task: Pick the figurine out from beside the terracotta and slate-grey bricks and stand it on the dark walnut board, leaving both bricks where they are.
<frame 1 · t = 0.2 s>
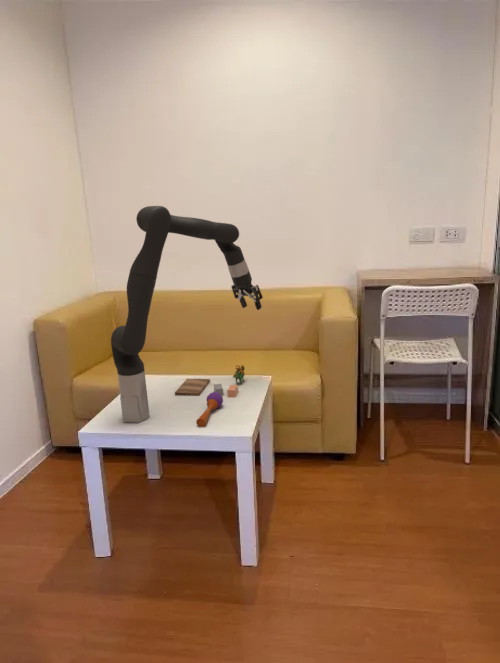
hand: (252, 307, 212), 30 cm above the table, tool tilted 20°, fingers open, 8 cm apart
walnut board: (193, 388, 211), on the table
terracotta brick: (233, 394, 202), on the table
slate-grey brick: (218, 393, 204), on the table
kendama: (209, 416, 184), on the table
figurine: (239, 384, 214), on the table
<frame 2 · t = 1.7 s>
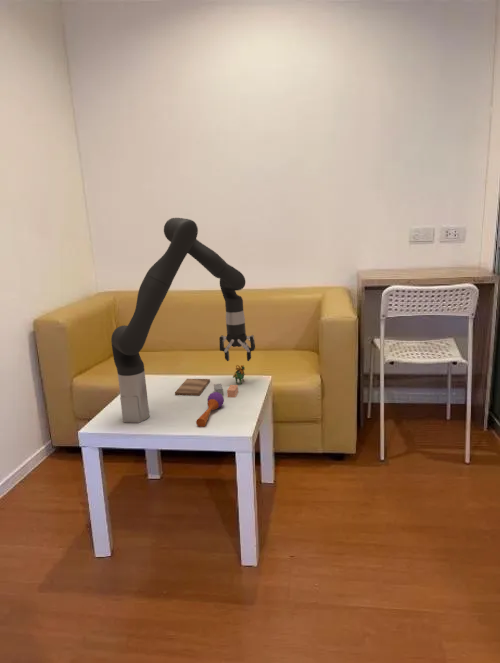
hand: (238, 360, 211), 10 cm above the table, tool pointing down, fingers open, 8 cm apart
nothing on the table moved.
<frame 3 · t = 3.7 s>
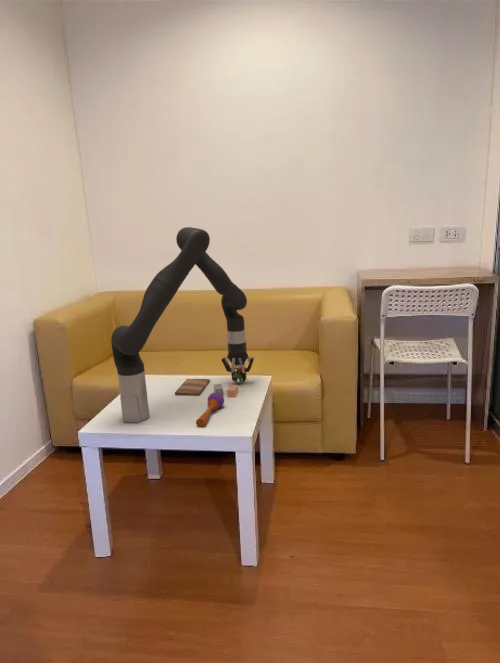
hand: (239, 380, 213), 1 cm above the table, tool pointing down, fingers closed on figurine, 3 cm apart
figurine: (239, 384, 214), on the table, touching gripper
everything else where it was.
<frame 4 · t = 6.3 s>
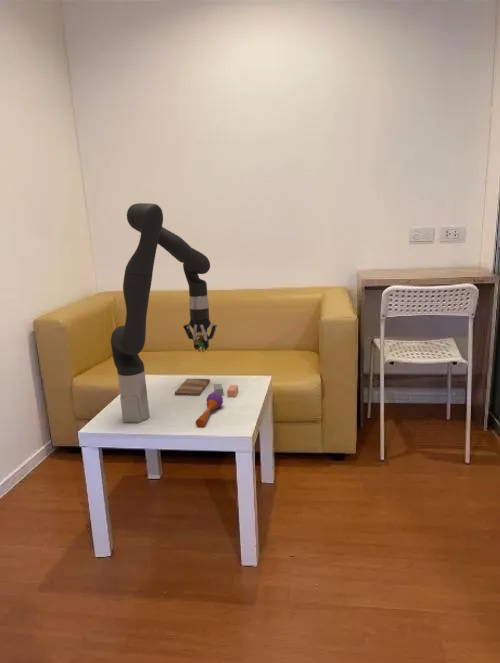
hand: (201, 349, 207), 16 cm above the table, tool pointing down, fingers closed on figurine, 3 cm apart
figurine: (201, 352, 208), point 15 cm above the table, touching gripper
everything else where it was.
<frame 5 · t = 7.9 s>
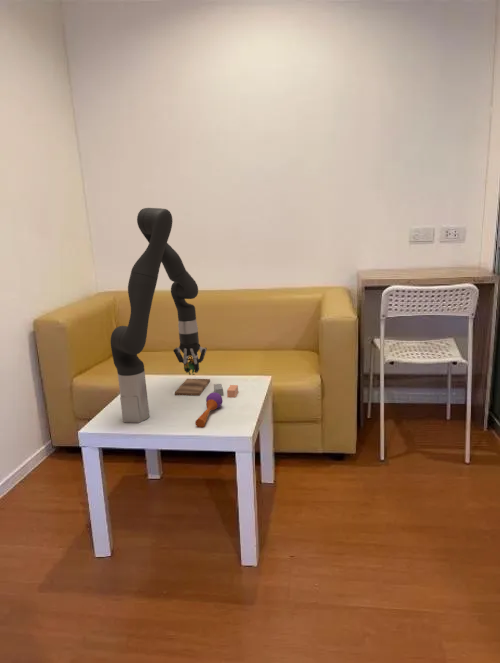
hand: (192, 371, 210), 7 cm above the table, tool pointing down, fingers closed on figurine, 3 cm apart
figurine: (192, 375, 210), point 6 cm above the table, touching gripper
everything else where it was.
when the fingers open (4 cm above the table, at t = 9.2 s): figurine drops 1 cm, resting on walnut board.
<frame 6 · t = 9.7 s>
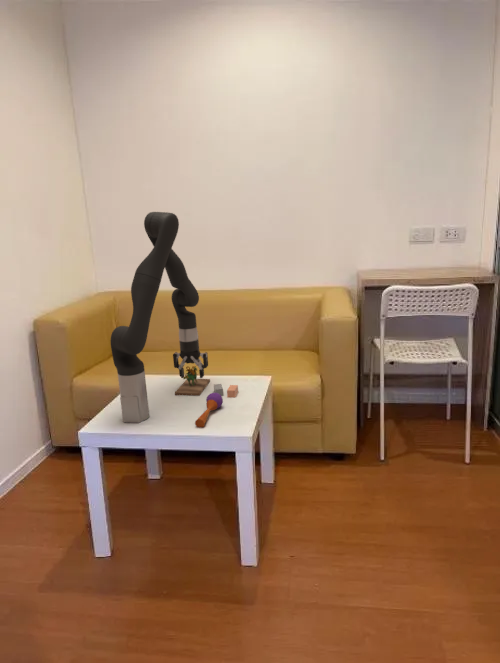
hand: (192, 377, 210), 5 cm above the table, tool pointing down, fingers open, 7 cm apart
figurine: (192, 385, 211), point 1 cm above the table, touching walnut board
everything else where it was.
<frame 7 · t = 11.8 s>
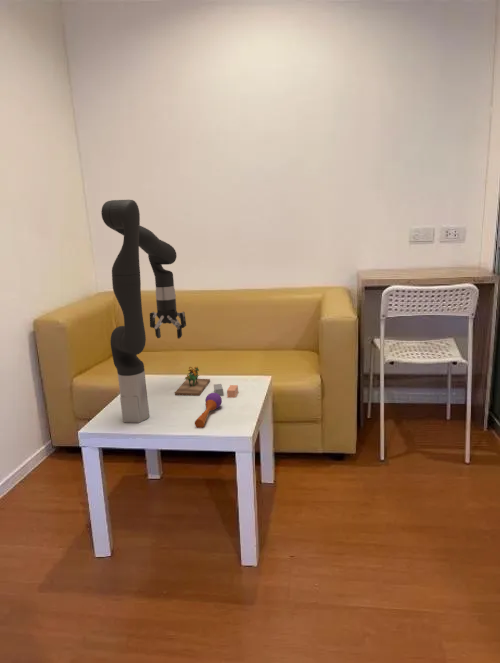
hand: (169, 338, 206), 22 cm above the table, tool pointing down, fingers open, 8 cm apart
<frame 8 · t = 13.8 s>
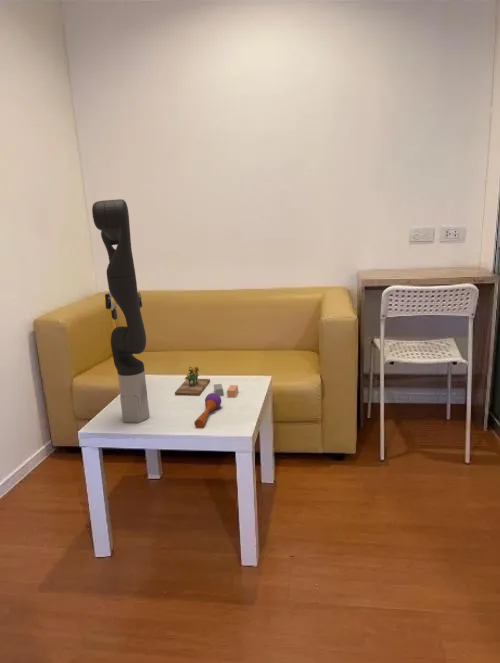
hand: (125, 319, 205), 30 cm above the table, tool pointing down, fingers open, 8 cm apart
nothing on the table moved.
at the end: figurine inside the target area on the walnut board (0.1 cm from its centre), point 1.0 cm above the walnut board's base; figurine tilted 0°; terracotta brick moved 0.4 cm from its start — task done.
